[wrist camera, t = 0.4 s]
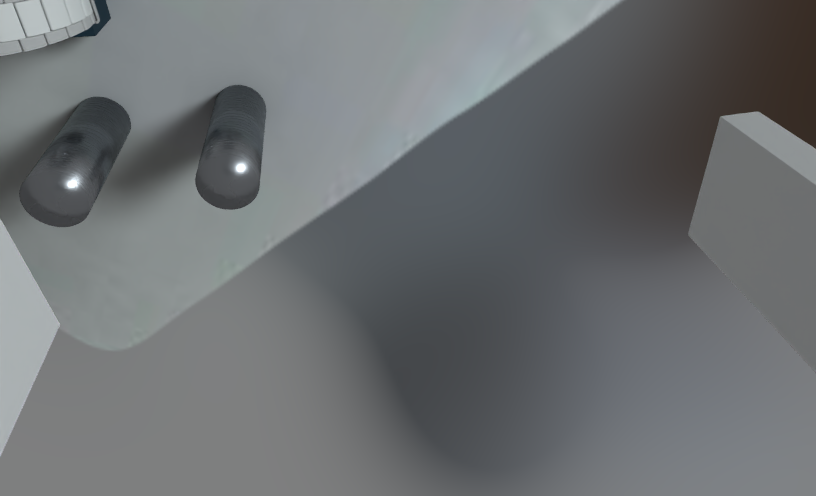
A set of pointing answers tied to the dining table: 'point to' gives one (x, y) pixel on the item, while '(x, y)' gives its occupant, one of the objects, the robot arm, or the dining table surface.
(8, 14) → the watch
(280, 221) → the dining table surface
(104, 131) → the post field
